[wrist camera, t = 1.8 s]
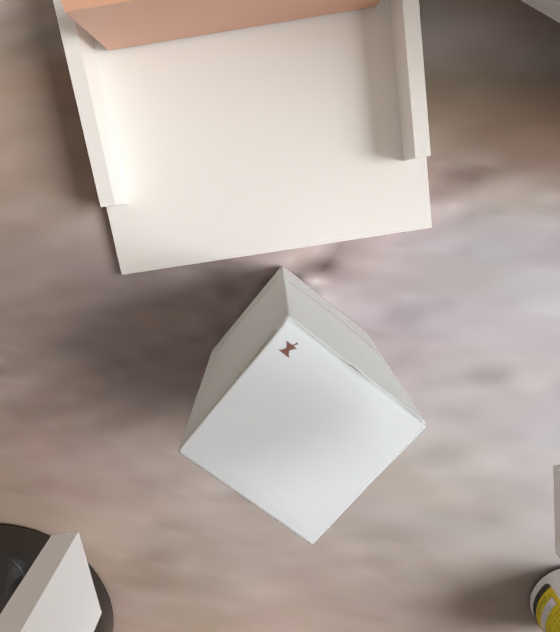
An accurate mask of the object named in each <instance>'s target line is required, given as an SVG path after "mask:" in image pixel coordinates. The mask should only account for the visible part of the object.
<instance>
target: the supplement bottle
mask: <svg viewBox="0 0 560 632" xmlns="http://www.w3.org/2000/svg"><path fill="white" fill-rule="evenodd" d="M530 607H531V611H532V614H533V616H534V618H535V619H536V621H537V623H538V624H539V626H540V628H541V629H542V631H543V632H560V569H557V570H555V571H552V572H550V573H549V574H547V575H546V576H544V577H543V578H542V579H541V580H540V581H539V582H538V583H537V584H536V586H535V587H534V589H533V591H532V593H531V597H530Z"/></svg>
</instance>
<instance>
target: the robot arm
mask: <svg viewBox="0 0 560 632" xmlns="http://www.w3.org/2000/svg"><path fill="white" fill-rule="evenodd" d="M553 470H554V511H555V552H556V554H557V555H558V556H559V558H560V465H555V466H553ZM0 632H113V611H112V606H111V602H110V598H109V595H108V593H107V591H106V588H105V587H104V585H103V583H102V581H101V579H100V578H99V576H98V575H97V574H96V572H95V571H94V570H93V568H92V567H91V566H90V565H89V564H88V563H87V559H86V556H85V552H84V549H83V545H82V541H81V538H80V534H79V531H77V532H69V533H62V534H55V535H51V537H50V536H47V535H45V534H42V533H40V532H37V531H34V530H30V529H26V528H22V527H17V526H10V525H0Z"/></svg>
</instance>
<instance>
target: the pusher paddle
mask: <svg viewBox="0 0 560 632" xmlns="http://www.w3.org/2000/svg"><path fill="white" fill-rule="evenodd" d="M61 1H62V5H63V9H64V12H65V13H66V14H67V15H68V16H69V17H71V18H72V19H73V20H74V21H75V22H76V23H78V24H79V25H80V26H81V27H82V28H83V29H85V30H86V31H87V32H88V33H89V34H90V35H92V36H93V37H94V38H95V39H96V40H97V41H99V42H100V43H101V44H102V45H103V46H104V47H105V48H107V49H108V50H113V49H119V48H125V47H131V46H137V45H144V44H150V43H156V42H162V41H168V40H174V39H180V38H186V37H193V36H199V35H205V34H211V33H217V32H223V31H229V30H236V29H242V28H248V27H254V26H260V25H266V24H272V23H278V22H285V21H291V20H297V19H303V18H309V17H315V16H321V15H327V14H334V13H340V12H346V11H352V10H358V9H364V8H370V7H376V6H377V4H378V2H379V0H61Z"/></svg>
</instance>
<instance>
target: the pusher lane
mask: <svg viewBox="0 0 560 632" xmlns="http://www.w3.org/2000/svg"><path fill="white" fill-rule="evenodd" d="M53 3H54V7H55V11H56V16H57V20H58V24H59V29H60V33H61V37H62V42H63V46H64V50H65V55H66V59H67V63H68V68H69V72H70V76H71V81H72V85H73V89H74V94H75V98H76V102H77V107H78V111H79V115H80V120H81V124H82V128H83V133H84V137H85V142H86V146H87V150H88V155H89V159H90V163H91V168H92V172H93V176H94V181H95V185H96V189H97V194H98V198H99V202H100V207H106V208H107V212H108V217H109V221H110V226H111V230H112V234H113V239H114V243H115V247H116V252H117V256H118V261H119V265H120V269H121V274H122V275H125V274H131V273H138V272H144V271H151V270H157V269H164V268H171V267H177V266H184V265H190V264H197V263H203V262H210V261H216V260H223V259H229V258H236V257H242V256H249V255H255V254H262V253H269V252H275V251H282V250H288V249H295V248H301V247H308V246H314V245H321V244H327V243H334V242H340V241H347V240H353V239H360V238H367V237H373V236H380V235H386V234H393V233H399V232H406V231H412V230H419V229H425V228H432V223H431V210H430V198H429V185H428V172H427V160H426V157H427V156H431V152H430V139H429V126H428V113H427V100H426V87H425V74H424V61H423V48H422V35H421V22H420V9H419V0H379V2H378V4H377V6H376V7H370V8H364V9H358V10H352V11H346V12H340V13H334V14H327V15H321V16H315V17H309V18H303V19H297V20H291V21H285V22H278V23H272V24H266V25H260V26H254V27H248V28H242V29H236V30H229V31H223V32H217V33H211V34H205V35H199V36H193V37H186V38H180V39H174V40H168V41H162V42H156V43H150V44H144V45H137V46H131V47H125V48H119V49H113V50H108V49H107V48H105V47H104V46H103V45H102V44H101V43H100V42H99V41H97V40H96V39H95V38H94V37H93V36H92V35H90V34H89V33H88V32H87V31H86V30H85V29H83V28H82V27H81V26H80V25H79V24H78V23H76V22H75V21H74V20H73V19H72V18H71V17H69V16H68V15H67V14H66V13H65V12H64V9H63V5H62V1H61V0H53Z"/></svg>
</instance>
